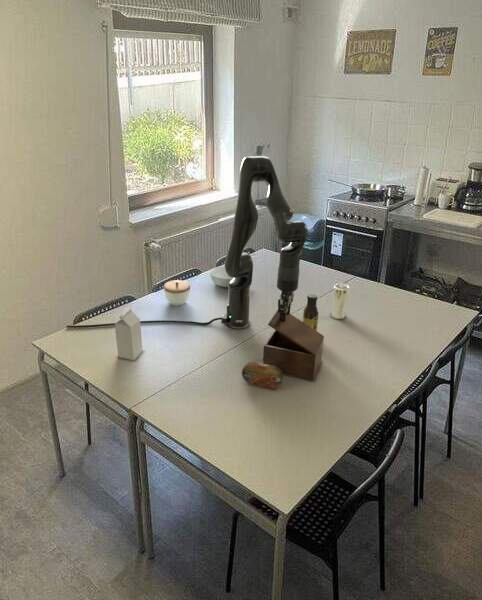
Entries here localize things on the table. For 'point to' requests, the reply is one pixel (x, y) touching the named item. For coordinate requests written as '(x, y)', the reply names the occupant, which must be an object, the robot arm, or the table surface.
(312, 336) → the lid
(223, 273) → the cereal bowl
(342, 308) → the milkshake glass
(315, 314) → the sauce bottle
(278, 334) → the chest
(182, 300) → the lidded bowl
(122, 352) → the milk carton
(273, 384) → the tin
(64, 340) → the table surface
